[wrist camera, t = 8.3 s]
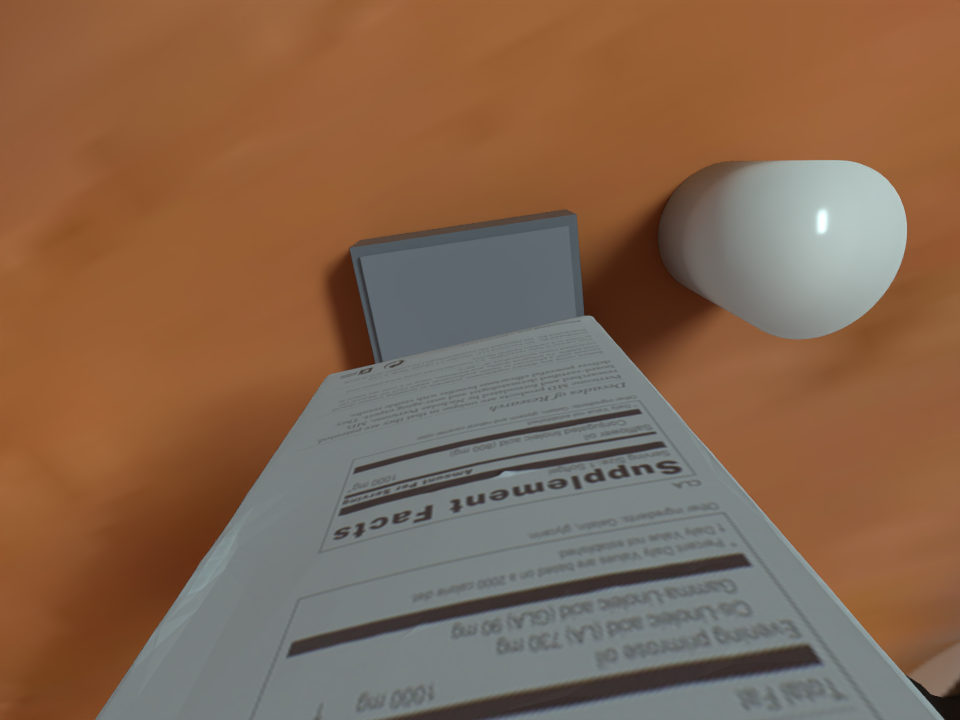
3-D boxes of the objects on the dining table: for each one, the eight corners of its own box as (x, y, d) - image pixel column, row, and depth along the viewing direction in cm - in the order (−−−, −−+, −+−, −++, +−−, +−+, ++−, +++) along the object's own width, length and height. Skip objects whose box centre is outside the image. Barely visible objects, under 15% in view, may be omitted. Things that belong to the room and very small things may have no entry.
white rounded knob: (655, 171, 30) (729, 175, 22) (791, 151, 30) (918, 147, 22) (659, 302, 33) (726, 350, 24) (784, 284, 33) (895, 326, 24)
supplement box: (635, 543, 20) (1230, 1858, 5) (400, 592, 21) (198, 1931, 5) (595, 302, 17) (2148, 1947, 1) (318, 368, 18) (-956, 2138, 2)
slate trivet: (359, 240, 31) (348, 248, 28) (566, 209, 31) (577, 214, 28) (402, 437, 36) (396, 464, 32) (583, 412, 35) (594, 436, 32)
